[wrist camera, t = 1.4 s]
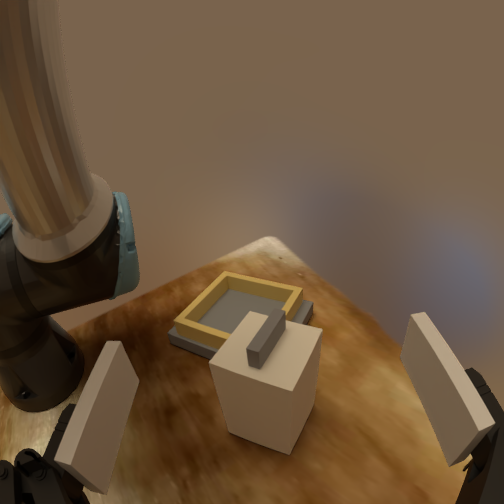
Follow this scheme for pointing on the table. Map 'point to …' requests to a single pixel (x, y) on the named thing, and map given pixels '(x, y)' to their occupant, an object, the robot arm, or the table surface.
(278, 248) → the table surface
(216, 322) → the tray
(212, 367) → the beige rectangular block
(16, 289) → the robot arm
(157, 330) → the table surface
